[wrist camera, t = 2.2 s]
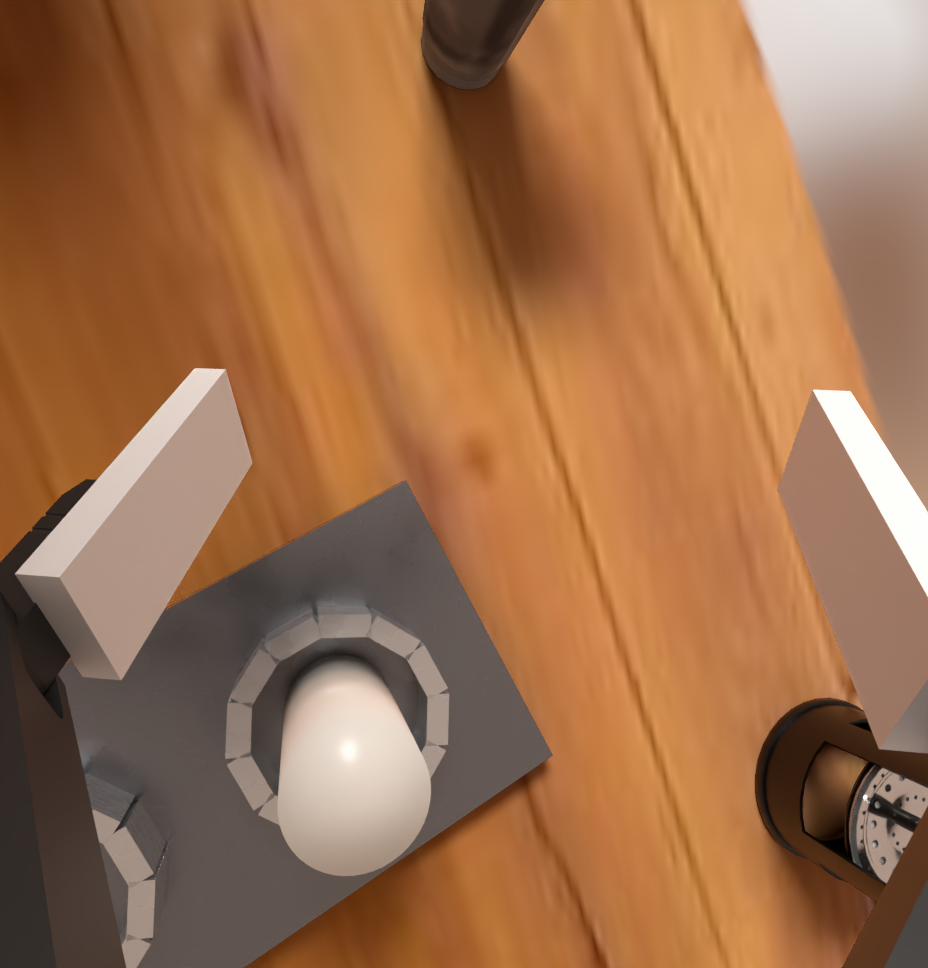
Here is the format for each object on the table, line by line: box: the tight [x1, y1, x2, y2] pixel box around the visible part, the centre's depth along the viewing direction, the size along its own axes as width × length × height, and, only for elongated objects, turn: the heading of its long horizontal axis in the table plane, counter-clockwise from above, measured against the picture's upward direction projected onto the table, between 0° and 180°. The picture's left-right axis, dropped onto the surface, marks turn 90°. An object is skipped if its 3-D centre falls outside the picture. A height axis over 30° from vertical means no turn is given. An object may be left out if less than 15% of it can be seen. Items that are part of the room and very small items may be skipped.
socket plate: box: [58, 481, 553, 968], centre depth 29 cm, size 16×30×4 cm, turn 119°
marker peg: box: [277, 655, 431, 876], centre depth 27 cm, size 5×5×10 cm
